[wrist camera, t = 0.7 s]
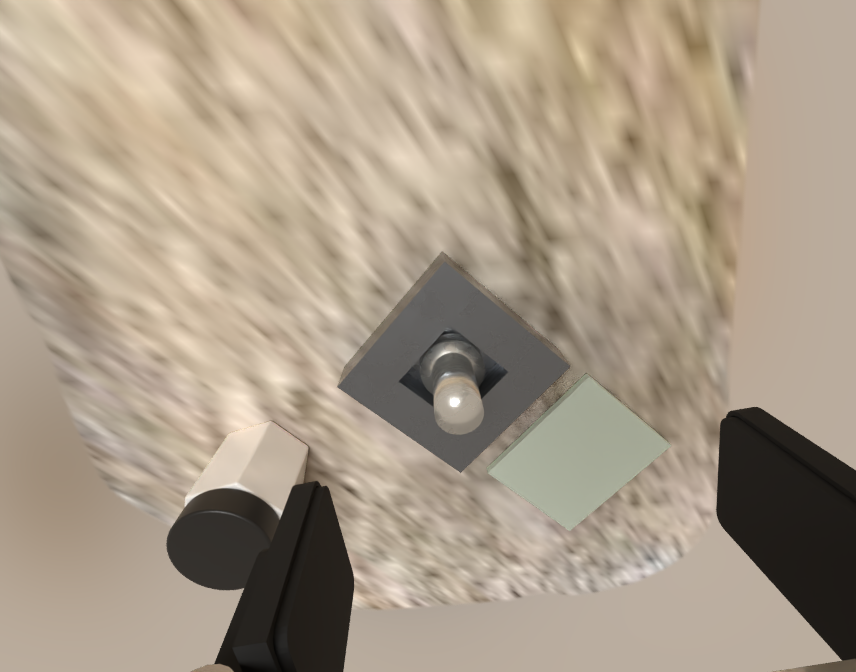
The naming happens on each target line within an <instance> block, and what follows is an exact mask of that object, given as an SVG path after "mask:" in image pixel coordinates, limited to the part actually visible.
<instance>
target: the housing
mask: <svg viewBox="0 0 856 672" xmlns="http://www.w3.org/2000/svg"><path fill="white" fill-rule="evenodd" d="M448 333H456V334H461V335H463V336H464V337H465V338H466V339H468V340H469V341H470V342H471V343H473V344H474V345H475V346H476V347H478V348H479V350H480V352H481V355H482V359H483V362H484V366H485V374H484V378H483V381H482V383H481V385H480V386H479V388H478V389H479V392H480V396H481V400H482V404H483V408H484V417H483V420H482V422H481V424H480V425H479V426H478V427H477V428H476V429H475V430H473V431H471V432H469V433H467V434H462V435H455V434H450V433H448V432H446V431H444V430H443V429H441V428H440V427H439V425H438V424H437V422H436V420H435V414H434V398H433V394H431V393H430V392H429V391H428V390H427V389H426V387H425V386H424V384H423V382H422V379H421V375H420V359H421V356H422V355H423V354H424V353H425V352H426V351H427V350H428V348H429V347H430V346H431V345H432V344H433V343H434V342H435V341H436V340H437V338H438V337H439V336H440V335H443V334H448ZM569 367H570V365H569V364H568V363H567V361H566V360H565V358H564V357H563V356H562V354H561V353H560V351H559V350H558V349H557V348H556V347H555V346H554V345H553V344H552V343H550V342H549V341H548V340H547V339H546V338H544V337H543V336H542V335H541V334H540V333H538V332H537V331H536V330H535V329H534V328H533V327H531V326H530V325H529V324H528V323H527V322H525V321H524V320H523V319H522V318H521V317H519V316H518V315H517V314H516V313H515V312H514V311H512V310H511V309H510V308H509V307H508V306H506V305H505V304H504V303H503V302H502V301H500V300H499V299H498V298H497V297H496V296H495V295H493V294H492V293H491V292H490V291H489V290H487V289H486V288H485V287H484V286H483V285H481V284H480V283H479V282H478V281H477V280H475V279H474V278H473V277H472V276H471V275H470V274H468V273H467V272H466V271H465V270H464V269H462V268H461V267H460V266H459V265H458V264H456V263H455V262H454V261H453V260H452V259H451V258H449V257H448V256H447V255H446V254H445V253H443V252H441V253H440V255H439V256H438V257H437V258H436V259H435V261H434V262H433V263H432V264H431V265H430V266H429V268H428V269H427V270H426V271H425V272H424V274H423V275H422V276H421V277H420V278H419V279H418V281H417V282H416V283H415V284H414V285H413V287H412V288H411V289H410V290H409V291H408V292H407V294H406V295H405V296H404V297H403V298H402V300H401V301H400V302H399V303H398V304H397V305H396V307H395V308H394V309H393V310H392V311H391V312H390V314H389V315H388V316H387V317H386V318H385V320H384V321H383V322H382V323H381V324H380V325H379V327H378V328H377V329H376V330H375V331H374V333H373V334H372V335H371V336H370V337H369V338H368V340H367V341H366V342H365V343H364V344H363V346H362V347H361V348H360V349H359V350H358V351H357V353H356V354H355V355H354V356H353V357H352V359H351V360H350V361H349V362H348V363H347V364H346V366H345V367H344V369H343V372H342V375H341V378H340V381H339V384H338V386H337V387H338V388H339V389H341V390H342V391H344V392H345V393H347V394H348V395H350V396H351V397H352V398H354V399H355V400H357V401H358V402H360V403H361V404H363V405H364V406H365V407H367V408H368V409H370V410H371V411H373V412H374V413H375V414H377V415H378V416H380V417H381V418H383V419H384V420H386V421H387V422H388V423H390V424H391V425H393V426H394V427H396V428H397V429H399V430H400V431H401V432H403V433H404V434H406V435H407V436H409V437H410V438H411V439H413V440H414V441H416V442H417V443H419V444H420V445H422V446H423V447H424V448H426V449H427V450H429V451H430V452H432V453H433V454H435V455H436V456H437V457H439V458H440V459H442V460H443V461H445V462H446V463H447V464H449V465H450V466H452V467H453V468H455V469H456V470H458V471H459V472H460V473H461V472H462V471H463V470H464V469H465V468H466V467H467V466H468V465H469V464H470V463H471V462H472V461H473V460H474V459H475V458H476V457H477V456H478V455H479V454H481V453H482V452H483V451H484V450H485V449H486V448H487V447H488V446H489V445H490V444H491V443H492V442H493V441H494V440H495V439H496V438H497V437H498V436H499V435H500V434H501V433H502V432H503V431H504V430H505V429H506V428H507V427H508V426H509V425H510V424H511V423H513V422H514V421H515V420H516V419H517V418H518V417H519V416H520V415H521V414H522V413H523V412H524V411H525V410H526V409H527V408H528V407H529V406H530V405H531V404H532V403H533V402H534V401H535V400H536V399H537V398H538V397H539V396H540V395H541V394H542V393H543V392H545V391H546V390H547V389H548V388H549V387H550V386H551V385H552V384H553V383H554V382H555V381H556V380H557V379H558V378H559V377H560V376H561V375H562V374H563V373H564V372H565V371H566V370H567V369H568V368H569Z"/></svg>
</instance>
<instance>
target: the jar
mask: <svg viewBox="0 0 856 672" xmlns="http://www.w3.org/2000/svg"><path fill="white" fill-rule="evenodd" d="M308 449H309V447H308V446H307V445H306V444H304V443H303V442H301V441H300V440H298V439H297V438H296V437H294V436H293V435H291V434H290V433H288V432H287V431H286V430H284V429H283V428H281V427H280V426H278V425H277V424H276V423H274V422H273V421H268V422H265V423H262V424H258V425H255V426H251V427H248V428H245V429H241V430H238V431H235V432H231V433H229V434H228V436H227V437H226V438H225V440H224V441H223V443H222V444H221V446H220V447H219V449H218V450H217V452H216V453H215V455H214V456H213V457H212V459H211V460H210V462H209V463H208V465H207V466H206V468H205V469H204V471H203V472H202V474H201V475H200V476H199V478H198V479H197V481H196V482H195V484H194V485H193V487H192V488H191V490H190V491H189V493H188V494H187V495H186V497H185V508H184V510H183V511H182V513H181V514H180V516H179V517H178V519H177V520H176V522H175V523H174V525H173V526H172V528H171V529H170V531H169V534H168V537H167V552H168V555H169V558H170V560H171V562H172V563H173V565H174V566H175V568H176V569H177V570H178V571H179V572H180V573H181V574H182V575H184V576H185V577H186V578H188V579H189V580H191V581H193V582H195V583H197V584H199V585H201V586H204V587H207V588H212V589H217V590H237V589H242V588H245V585H246V583H247V580H248V578H249V575H250V573H251V570H252V568H253V565H254V563H255V560H256V558H257V556H258V554H259V552H260V551H262V550H263V549H268V548H270V545H271V542H272V539H273V537H274V534H275V531H276V529H277V526H278V523H279V521H280V518H281V515H282V513H283V510H284V507H285V505H286V502H287V499H288V497H289V494H290V491H291V489H292V487H293V486H294V485H297V484H303V482H304V476H305V469H306V462H307V456H308Z"/></svg>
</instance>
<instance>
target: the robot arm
mask: <svg viewBox="0 0 856 672" xmlns="http://www.w3.org/2000/svg"><path fill="white" fill-rule="evenodd" d="M716 511H717V517H718V520H719V522H720V524H721V526H722V527H723V528H724V530H725V531H726V532H727V533H728V534H729V535H730V536H731V537H732V538H733V540H734V541H735V542H736V543H737V544H738V545H739V546H740V547H741V548H742V550H743V551H744V552H745V553H746V554H747V555H748V556H749V557H750V559H752V561H753V562H754V563H755V564H756V565H757V566H758V567H759V568H760V570H761V571H762V572H763V573H764V574H765V575H766V576H767V577H768V579H769V580H770V581H771V582H772V583H773V584H774V585H775V586H776V587H777V588H778V589H779V591H780V592H781V593H782V594H783V595H784V596H785V597H786V599H788V601H789V602H790V603H791V604H792V605H793V606H794V607H795V609H797V610H798V612H799V613H800V614H801V615H802V616H803V617H804V618H805V620H806V621H807V622H808V623H809V624H810V625H811V626H812V627H813V628H814V630H815V631H816V632H817V633H818V634H819V635H820V636H821V637H822V638H823V640H824V641H825V642H826V643H827V644H828V645H829V646H830V647H831V648H832V650H833V651H834V652H835V653H836V654H837V655H838V656H839V657H840V659H841V660H842V661H838V662H832V663H825V664H818V665H812V666H806V667H799V668H793V669H786V670H780V671H773V672H856V470H854V469H853V468H851V467H849V466H848V465H847V464H845V463H844V462H842V461H840V460H839V459H837V458H836V457H834V456H833V455H831V454H830V453H828V452H827V451H825V450H824V449H822V448H820V447H819V446H817V445H816V444H814V443H813V442H811V441H810V440H808V439H807V438H805V437H804V436H802V435H800V434H799V433H798V432H796V431H794V430H793V429H791V428H790V427H788V426H787V425H785V424H784V423H782V422H781V421H779V420H778V419H776V418H775V417H773V416H772V415H770V414H769V413H767V412H765V411H764V410H762V409H761V408H758V407H751V408H745V409H739V410H734V411H730V412H728V414H727V416H726V418H724V419H723V420H722V421H721V424H720V444H719V465H718V487H717V508H716ZM353 593H354V576H353V571H352V567H351V564H350V560H349V557H348V554H347V550H346V547H345V543H344V540H343V536H342V533H341V529H340V526H339V522H338V519H337V515H336V512H335V508H334V505H333V501H332V498H331V495H330V491H329V488H328V487H327V486H323V487H321V485H320V483H319V482H318V481H315V482H309V483H303V484H297V485H294V486H293V487H292V489H291V491H290V494H289V497H288V499H287V502H286V505H285V507H284V510H283V513H282V515H281V518H280V521H279V523H278V526H277V529H276V531H275V534H274V537H273V539H272V542H271V545H270V548H268V549H263V550H262V551H260V552H259V554H258V556H257V558H256V560H255V563H254V565H253V568H252V570H251V573H250V575H249V578H248V580H247V583H246V585H245V588H244V590H243V593H242V596H241V598H240V601H239V603H238V606H237V608H236V611H235V613H234V616H233V618H232V621H231V623H230V626H229V629H228V631H227V633H226V636H225V638H224V641H223V643H222V646H221V648H220V651H219V653H218V656H217V658H216V661H215V664H213V665H206V666H203V667H200V668H198V669H195V670H193V671H191V672H343V669H344V662H345V654H346V646H347V639H348V630H349V623H350V615H351V608H352V600H353Z"/></svg>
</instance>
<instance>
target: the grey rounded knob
mask: <svg viewBox="0 0 856 672" xmlns="http://www.w3.org/2000/svg"><path fill="white" fill-rule="evenodd" d="M484 374H485V366H484V362H483V359H482V355H481V352H480V350H479V348H478V347H476V346H475V345H474V344H473V343H471V342H470V341H469V340H468V339H466V338H465V337H464V336H463V335H461V334H456V333H448V334H443V335H440V336H439V337H438V338H437V340H436V341H435V342H434V343H433V344H432V345H431V346H430V347H429V348H428V350H427V351H426V352H425V353H424V354H423V355H422V356H421V359H420V375H421V379H422V382H423V384H424V386H425V387H426V389H427V390H428V391H429V392H430V393H431V394H433V398H434V414H435V420H436V422H437V424H438V425H439V427H440V428H441V429H443V430H444V431H446V432H448V433H450V434H455V435H462V434H467V433H469V432H471V431H473V430H475V429H476V428H477V427H478V426H479V425H480V424H481V422H482V420H483V417H484V408H483V404H482V400H481V396H480V392H479V389H478V388H479V386H480V385H481V383H482V381H483V378H484Z"/></svg>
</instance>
